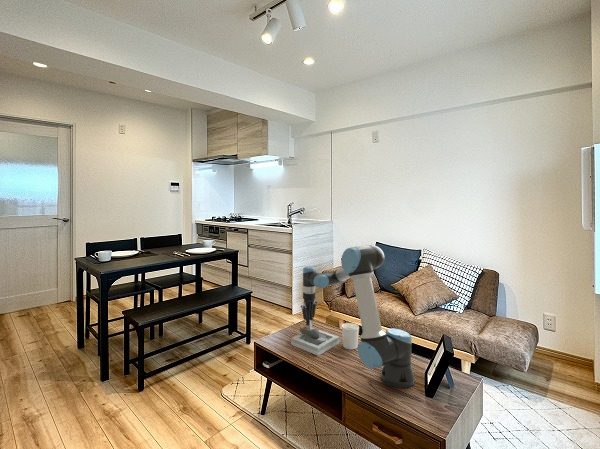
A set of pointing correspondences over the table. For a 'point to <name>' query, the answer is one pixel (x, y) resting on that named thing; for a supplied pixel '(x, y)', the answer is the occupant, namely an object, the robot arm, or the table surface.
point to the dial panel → (312, 348)
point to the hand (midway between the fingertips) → (309, 330)
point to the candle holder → (350, 335)
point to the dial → (312, 335)
